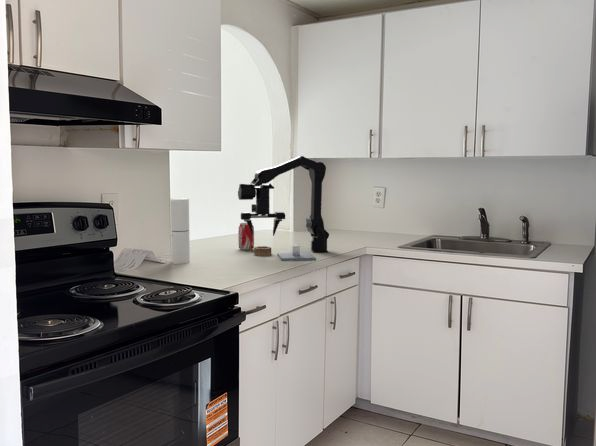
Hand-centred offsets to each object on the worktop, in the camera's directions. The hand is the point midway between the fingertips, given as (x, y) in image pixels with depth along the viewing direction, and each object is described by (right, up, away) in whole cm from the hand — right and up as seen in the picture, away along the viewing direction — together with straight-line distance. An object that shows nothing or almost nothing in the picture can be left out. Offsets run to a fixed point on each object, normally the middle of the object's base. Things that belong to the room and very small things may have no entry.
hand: (262, 235), depth 238 cm
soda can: (-8, -7, +15) cm, 18 cm away
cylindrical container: (-31, -10, -19) cm, 38 cm away
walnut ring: (0, -8, +1) cm, 8 cm away
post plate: (+14, -9, -7) cm, 18 cm away
